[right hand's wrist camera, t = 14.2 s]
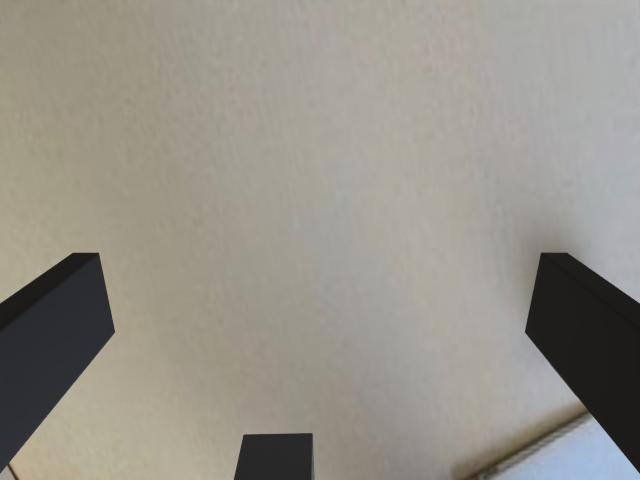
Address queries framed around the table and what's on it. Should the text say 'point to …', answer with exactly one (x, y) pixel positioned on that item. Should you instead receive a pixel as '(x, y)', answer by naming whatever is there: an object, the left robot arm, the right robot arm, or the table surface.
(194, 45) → the table surface
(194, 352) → the table surface
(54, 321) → the right robot arm
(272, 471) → the bar
